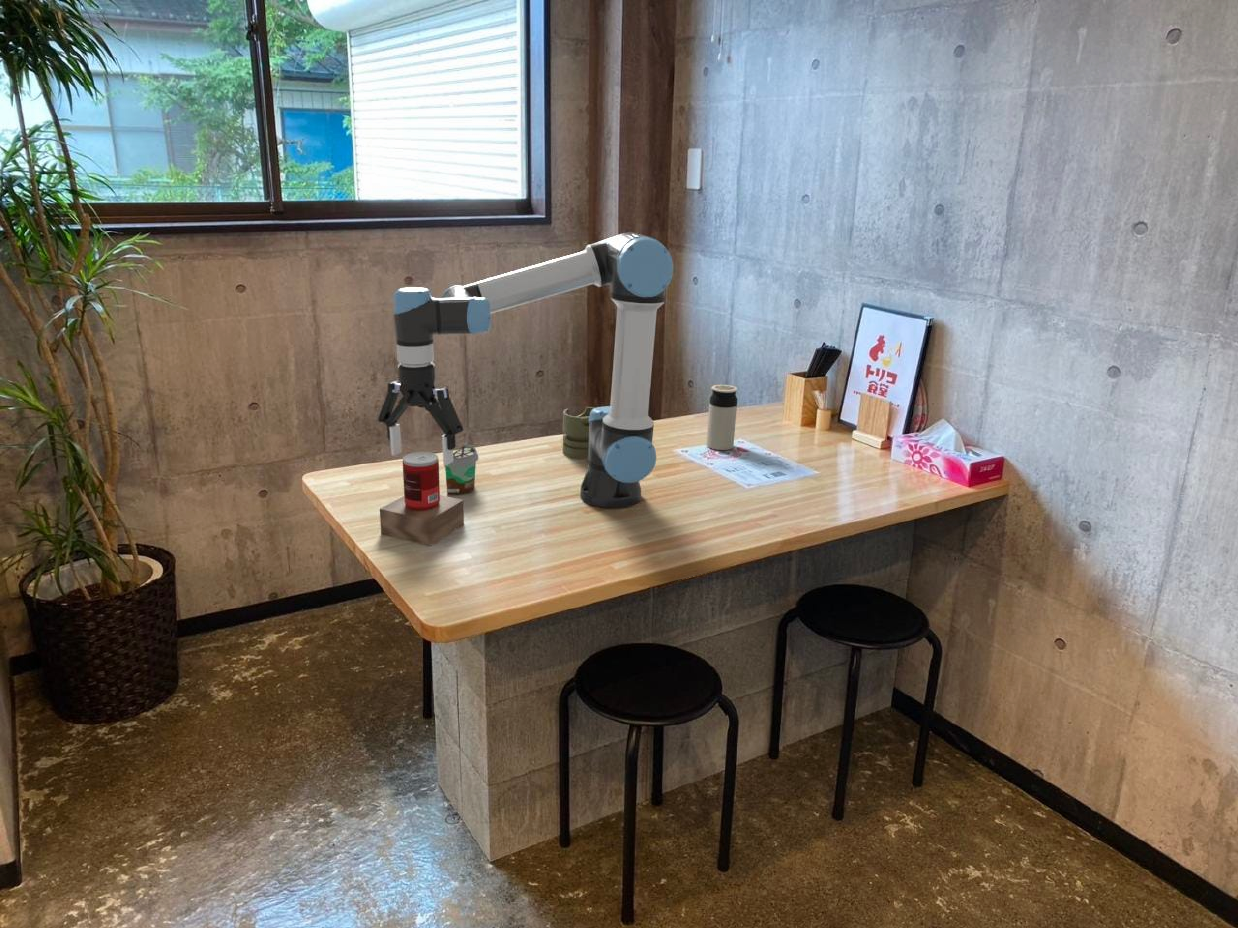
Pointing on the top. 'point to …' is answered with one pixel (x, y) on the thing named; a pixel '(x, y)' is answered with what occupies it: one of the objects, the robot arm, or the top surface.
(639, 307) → the robot arm
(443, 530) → the walnut stand
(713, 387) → the travel mug
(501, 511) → the top surface
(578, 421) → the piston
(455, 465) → the food container
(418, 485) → the canned food
